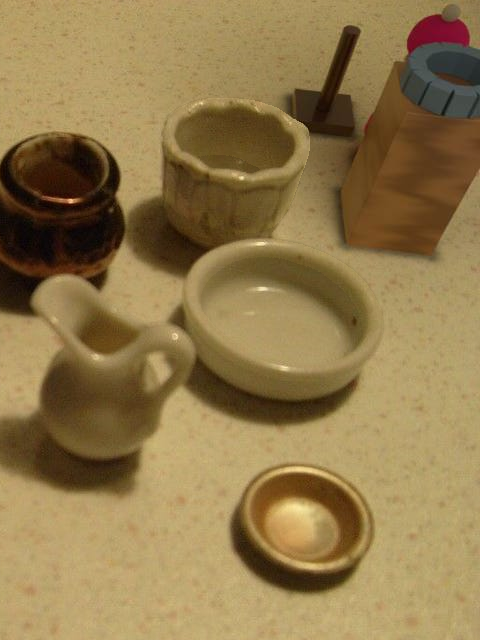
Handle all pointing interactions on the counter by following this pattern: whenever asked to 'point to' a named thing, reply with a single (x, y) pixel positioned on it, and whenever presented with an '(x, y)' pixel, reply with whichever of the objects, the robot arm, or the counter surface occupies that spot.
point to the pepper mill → (437, 32)
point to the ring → (440, 93)
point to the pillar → (408, 173)
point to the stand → (329, 94)
